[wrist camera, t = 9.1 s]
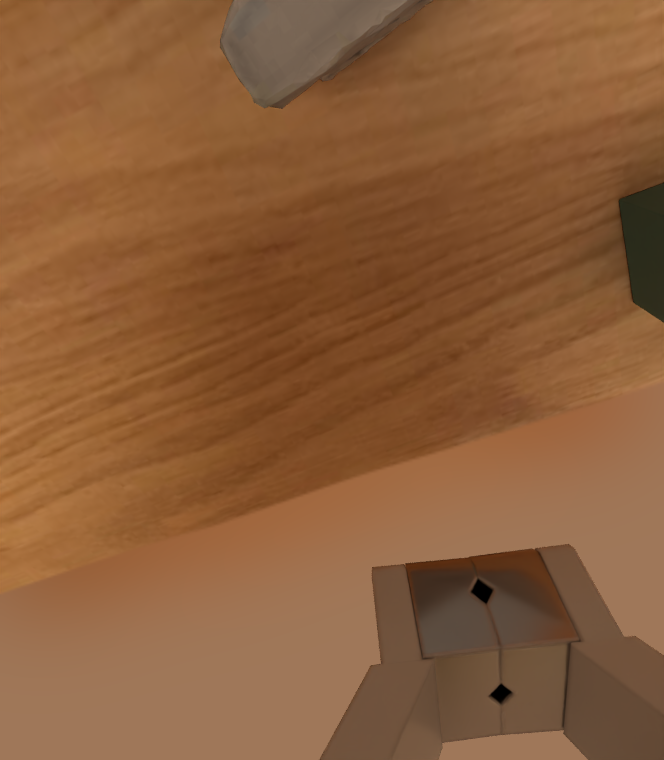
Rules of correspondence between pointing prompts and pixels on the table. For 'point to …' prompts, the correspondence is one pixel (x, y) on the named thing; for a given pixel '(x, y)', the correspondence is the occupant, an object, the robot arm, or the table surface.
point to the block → (645, 247)
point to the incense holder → (303, 41)
